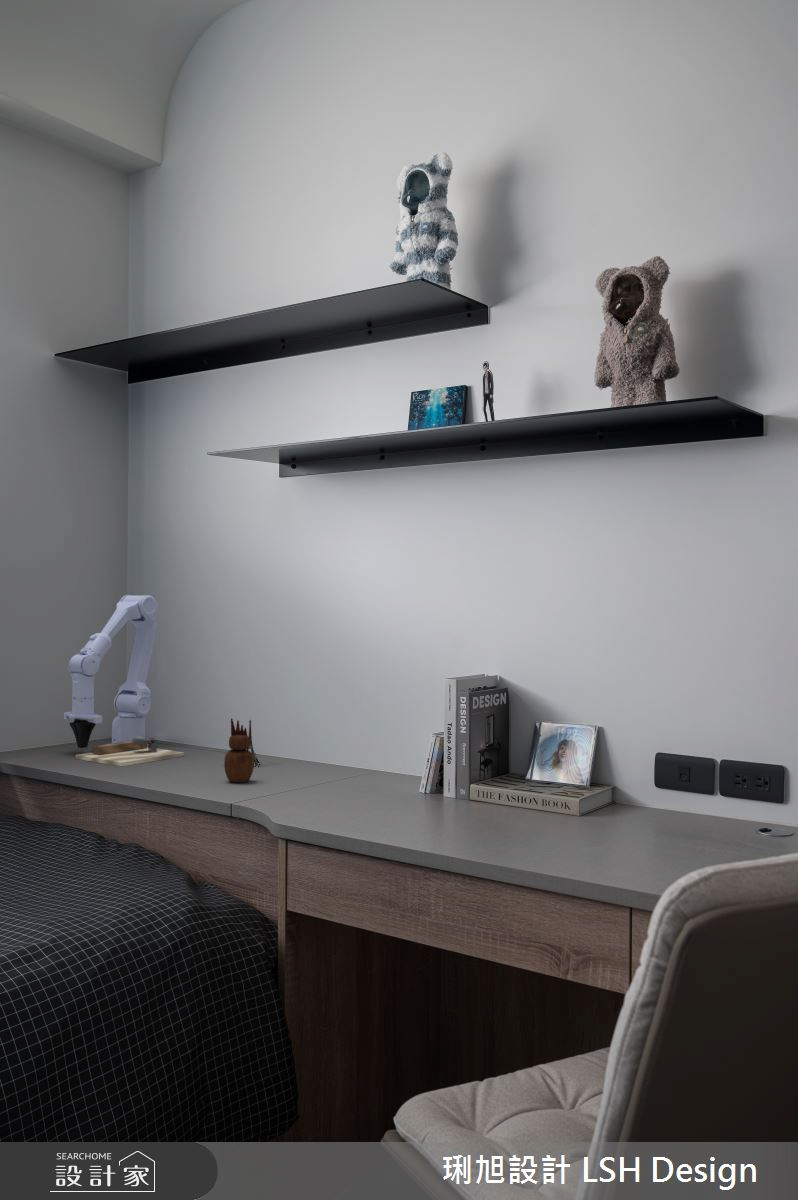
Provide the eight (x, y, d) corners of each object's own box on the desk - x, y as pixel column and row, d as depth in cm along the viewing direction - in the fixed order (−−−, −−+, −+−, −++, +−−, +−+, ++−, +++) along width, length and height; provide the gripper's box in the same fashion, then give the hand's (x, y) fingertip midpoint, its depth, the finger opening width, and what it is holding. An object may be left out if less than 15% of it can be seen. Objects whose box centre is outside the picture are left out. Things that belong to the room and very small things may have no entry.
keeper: (131, 751, 265) (132, 739, 265) (154, 750, 267) (154, 738, 267) (134, 753, 261) (134, 741, 261) (156, 752, 264) (156, 740, 264)
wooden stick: (140, 746, 272) (140, 735, 272) (147, 747, 271) (147, 736, 271) (92, 753, 260) (92, 742, 260) (99, 754, 258) (99, 743, 258)
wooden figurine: (220, 782, 226) (220, 719, 226) (231, 778, 232) (232, 716, 232) (246, 784, 224) (247, 720, 224) (257, 780, 230) (257, 717, 230)
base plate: (75, 758, 258) (75, 754, 258) (139, 749, 275) (139, 745, 275) (121, 766, 247) (121, 762, 247) (184, 756, 264) (184, 752, 264)
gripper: (54, 697, 266) (54, 746, 266) (87, 701, 257) (86, 751, 257) (76, 695, 271) (75, 743, 271) (109, 699, 263) (108, 748, 263)
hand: (82, 747), depth 265 cm, fingers closed
